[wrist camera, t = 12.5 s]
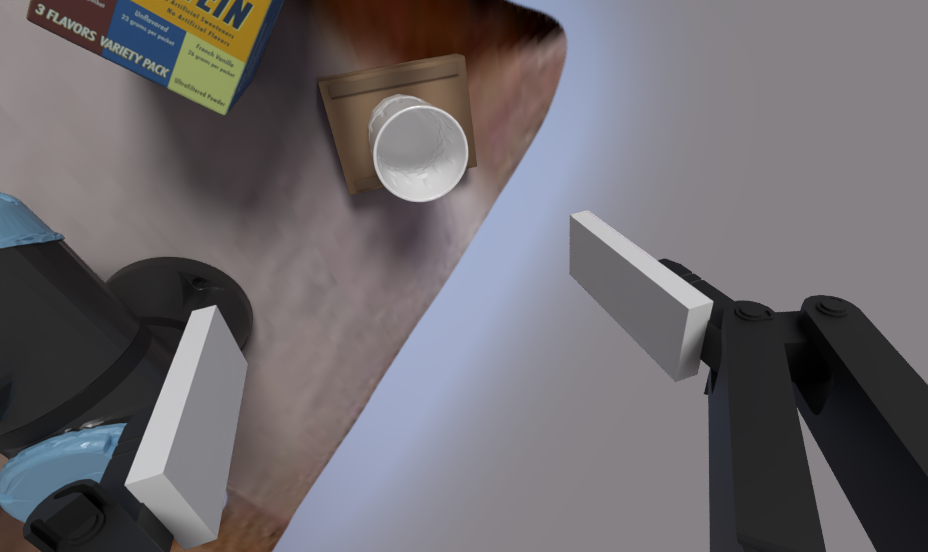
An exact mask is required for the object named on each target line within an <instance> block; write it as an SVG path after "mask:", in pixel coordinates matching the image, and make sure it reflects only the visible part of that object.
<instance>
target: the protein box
mask: <svg viewBox="0 0 928 552" xmlns="http://www.w3.org/2000/svg"><path fill="white" fill-rule="evenodd" d="M283 3H284V0H30V4H29V8H28V12H27V16H26V18H27V20H28V21H30V22H32V23H34V24H36V25H38V26H40V27H42V28H44V29H46V30H48V31H50V32H52V33H54V34H56V35H58V36H60V37H62V38H64V39H66V40H68V41H70V42H72V43H74V44H76V45H78V46H80V47H82V48H84V49H86V50H89V51H91V52H93V53H95V54H97V55H99V56H101V57H103V58H105V59H107V60H109V61H111V62H113V63H115V64H118V65H120V66H122V67H124V68H126V69H128V70H130V71H132V72H134V73H136V74H138V75H140V76H142V77H144V78H146V79H148V80H151V81H153V82H155V83H157V84H159V85H161V86H163V87H165V88H167V89H169V90H171V91H173V92H175V93H177V94H179V95H181V96H183V97H185V98H187V99H189V100H191V101H193V102H196V103H198V104H200V105H202V106H204V107H206V108H208V109H210V110H213V111H215V112H217V113H219V114H221V115H226V114H227V113H228V112H229V111H230V109H231V108H232V107H233V106H234V104H235V103H236V101H237V100H238V99H239V97H240V96H241V95H242V94H243V92H244V91H245V90H246V89H247V87H248V86H249V85H250V83H251V81H252V79H253V76H254V74H255V72H256V69H257V67H258V64H259V62H260V59H261V57H262V54H263V52H264V49H265V47H266V44H267V42H268V39H269V37H270V34H271V32H272V29H273V27H274V25H275V22H276V20H277V17H278V15H279V12H280V10H281V8H282V5H283Z"/></svg>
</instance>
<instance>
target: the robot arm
mask: <svg viewBox="0 0 928 552" xmlns="http://www.w3.org/2000/svg"><path fill="white" fill-rule="evenodd" d="M64 239H65V237H64V236H63V235H62V234H60V233H56V232H54V231H53V230H52V229H51V228H49V227H48V226H47V225H46V224H45V223H44V222H43V221H42V220H41V219H40V218H39V217H38V216H36V215H35V214H34V213H33V212H32V211H31V210H30V209H29V208H28V207H27V206H26V205H25V204H24V203H22V202H21V201H20V200H18V199H17V198H15V197H13V196H11V195H8V194H5V193H1V192H0V453H1V454H2V455H4V456H5V457H7V458H8V459H9V461H8V462H7V464H5V465H4V467H3V468H2V470H1V472H0V505H1V507H2V508H3V509H4V510H5V511H6V512H7V513H9V514H10V515H11V516H12V517H14V518H16V519H18V520H20V521H22V522H24V523H25V525H24V527H23V536H24V538H25V539H26V540H27V541H29V542H30V543H31V544H33V545H34V546H35V547H36V548H38V549H39V550H40V551H41V552H170V549H171V545H172V542H173V538H174V539H175V540H176V542H177V543H178V544H179V545H180V546H181V547H182V548H183V549H184V550H186V549H189V548H192V547H195V546H198V545H201V544H204V543H207V542H210V541H213V540H216V539H217V537H218V531H219V526H220V520H221V514H222V509H223V503H224V497H225V491H226V486H227V480H228V474H229V469H230V463H231V457H232V452H233V446H234V440H235V435H236V429H237V423H238V417H239V412H240V406H241V400H242V395H243V389H244V383H245V378H246V372H247V366H248V364H247V362H246V360H245V358H244V356H243V354H242V351H243V350H244V348H245V346H246V344H247V342H248V339H249V336H250V332H251V326H252V319H253V318H252V309H251V305H250V302H249V300H248V298H247V296H246V294H245V292H244V291H243V290H242V288H241V287H240V286H239V285H238V284H237V283H236V282H235V281H234V280H233V279H232V278H231V277H229V276H228V275H227V274H225V273H224V272H222V271H220V270H218V269H217V268H215V267H212V266H210V265H208V264H205V263H202V262H199V261H195V260H191V259H186V258H178V257H158V258H150V259H145V260H142V261H138V262H135V263H133V264H130V265H128V266H126V267H124V268H122V269H121V270H119V271H118V272H116V273H115V274H114V275H113V276H112V277H110V279H109V280H108V281H107V282H106V283H105V282H104V281H103V280H102V279H101V278H100V277H99V276H98V275H97V274H96V273H95V272H94V271H93V270H92V269H91V268H90V267H89V266H88V265H87V264H86V263H85V262H84V261H83V260H82V259H81V258H80V257H79V256H78V255H77V254H76V253H75V252H74V251H73V250H72V249H71V248H70V247H69V245H68V244H67V243H66V242H65V241H64ZM570 275H571V276H572V277H573V278H574V279H575V280H576V281H577V282H578V283H579V284H580V285H581V286H582V287H583V288H584V289H585V290H586V291H587V292H588V293H589V294H590V295H591V296H592V297H593V298H594V299H595V300H596V301H597V302H598V303H599V304H600V305H601V306H602V307H603V309H605V311H606V312H607V313H608V314H610V316H611V317H612V318H613V319H614V320H615V321H616V322H617V323H618V324H619V325H620V326H621V327H622V328H623V329H624V330H625V331H626V332H627V333H628V334H629V335H630V336H631V337H632V338H633V339H634V340H635V341H636V342H637V343H638V344H639V345H640V346H641V347H642V348H643V349H644V350H645V351H646V352H647V353H648V354H649V355H650V356H651V358H652V359H653V360H655V361H656V363H657V364H658V365H659V366H660V367H661V368H662V369H663V370H664V371H665V372H666V373H667V374H668V375H669V376H670V377H671V378H672V379H673V380H674V381H675V382H677V381H680V380H682V379H685V378H688V377H691V376H694V375H697V374H698V369H699V365H700V360H702V361H703V362H704V363H706V364H707V365H708V366H709V367H710V371H709V375H708V379H707V383H706V388H705V392H704V394H706V395H708V400H709V401H708V403H709V502H710V552H826V549H825V544H824V539H823V534H822V529H821V525H820V520H819V515H818V510H817V505H816V500H815V495H814V490H813V485H812V480H811V475H810V470H809V466H808V460H807V456H806V451H805V446H804V441H803V436H802V431H801V426H800V421H799V416H798V411H797V408H798V410H799V411H800V413H801V415H802V417H803V418H804V420H805V422H806V424H807V426H808V428H809V430H810V431H811V433H812V435H813V437H814V439H815V441H816V442H817V444H818V446H819V448H820V449H821V451H822V453H823V455H824V457H825V459H826V460H827V462H828V464H829V466H830V468H831V470H832V471H833V473H834V475H835V477H836V479H837V480H838V482H839V484H840V486H841V488H842V490H843V491H844V493H845V495H846V497H847V498H848V500H849V502H850V504H851V506H852V508H853V509H854V511H855V513H856V515H857V517H858V519H859V520H860V522H861V524H862V526H863V528H864V529H865V531H866V533H867V535H868V537H869V538H870V540H871V542H872V544H873V546H874V548H875V550H876V551H877V552H928V385H927V384H926V383H925V382H924V380H923V379H922V378H921V377H920V376H919V375H918V374H917V373H916V371H915V370H914V369H913V368H912V367H911V366H910V365H909V364H908V363H907V361H906V360H905V359H904V358H903V357H902V356H901V355H900V354H899V353H898V351H897V350H896V349H895V348H894V347H893V346H892V345H891V344H890V342H889V341H888V340H887V339H886V338H885V337H884V336H883V335H882V334H881V332H880V331H879V330H878V329H877V328H876V327H875V326H874V325H873V323H872V322H871V321H870V320H869V319H868V318H867V317H866V316H865V315H864V314H863V312H862V311H861V310H860V309H859V308H857V307H856V306H855V305H854V304H852V303H850V302H848V301H846V300H844V299H841V298H838V297H833V296H825V295H817V296H811V297H809V298H806V299H805V300H804V302H803V304H802V307H801V310H800V311H793V312H774V311H773V310H772V309H770V308H769V307H767V306H765V305H762V304H760V303H756V302H752V301H733V300H732V299H730V298H729V297H728V296H726V295H725V294H723V293H722V292H720V291H719V290H717V289H716V288H714V287H713V286H711V285H710V284H708V283H707V282H706V281H704V280H701V278H700V277H699V276H697V275H696V274H692V272H691V271H690V270H688V269H687V268H685V267H684V266H682V265H681V264H679V263H676V262H673V261H670V260H668V259H662V260H658V261H657V260H655V259H654V258H653V257H651V256H650V255H649V254H647V253H646V252H644V251H643V250H642V249H640V248H639V247H638V246H636V245H635V244H633V243H632V242H631V241H629V240H628V239H627V238H625V237H623V236H622V235H621V234H619V233H618V232H617V231H615V230H614V229H613V228H611V227H610V226H609V225H607V224H606V223H604V222H603V221H602V220H600V219H599V218H598V217H596V216H595V215H593V214H592V213H591V212H589V211H588V210H587V211H583V212H579V213H575V214H571V215H570Z"/></svg>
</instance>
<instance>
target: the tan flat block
mask: <svg viewBox="0 0 928 552" xmlns="http://www.w3.org/2000/svg"><path fill="white" fill-rule="evenodd" d="M318 84H319V88H320V91H321V95H322V98H323V102H324V105H325V109H326V113H327V116H328V120H329V123H330V127H331V130H332V134H333V137H334V141H335V144H336V148H337V151H338V155H339V159H340V162H341V166H342V169H343V173H344V176H345V180H346V183H347V187H348V190H349V194H350V195H352V194H357V193H361V192H366V191H370V190H374V189H379V188H383V187H385V186H384V185H383V184H382V182H381V181H380V179H379V177H378V175H377V173H376V170H375V166H374V162H373V158H372V155H371V150H370V145H369V132H368V123H369V120H370V116H371V113H372V110H373V109H374V108H375V107H376V106H377V105H378V104H379V103H380V102H381V101H382V100H383V99H384V98H387V97H390V96H393V95H396V94H403V95H410V96H414V97H416V98H419V99H422V100H424V101H426V102H428V103H430V104H432V105H434V106H436V107H437V108H439V109H441V110H443V111H445V112H446V113H448V114H449V115H451V116H452V117H453V118H454V119H455V120H456V121H457V122H458V123H459V125H460V126H461V128H462V130H463V132H464V134H465V136H466V139H467V144H468V161H467V166H466V169H468V168H472V167H476V166H477V161H476V152H475V144H474V135H473V126H472V117H471V108H470V99H469V91H468V82H467V73H466V64H465V56H463V55H460V54H451V55H445V56H439V57H434V58H428V59H422V60H417V61H411V62H405V63H400V64H394V65H388V66H383V67H377V68H372V69H366V70H360V71H355V72H349V73H343V74H338V75H332V76H326V77H321V78H318Z"/></svg>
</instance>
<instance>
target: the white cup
mask: <svg viewBox="0 0 928 552" xmlns="http://www.w3.org/2000/svg"><path fill="white" fill-rule="evenodd" d="M368 132H369V145H370V150H371V155H372V158H373V162H374V166H375V170H376V173H377V175H378V177H379V179H380V181H381V182H382V184H383V185H384V186H385V187H386V188H387V189H388V190H389V191H390V192H391V193H392V194H394V195H395V196H397V197H399V198H401V199H404V200H407V201H411V202H428V201H432V200H435V199H438V198H440V197H442V196H444V195H445V194H447V193H448V192H450V191H451V190H452V189H453V188H454V187H455V186H456V185H457V183H458V182H459V181H460V179H461V178H462V176H463V174H464V171H465V169H466V166H467V161H468V144H467V139H466V136H465V134H464V132H463V130H462V128H461V126H460V125H459V123H458V122H457V121H456V120H455V119H454V118H453V117H452V116H451V115H449V114H448V113H446V112H445V111H443V110H441V109H439V108H437V107H436V106H434V105H432V104H430V103H428V102H426V101H424V100H422V99H419V98H416V97H414V96H410V95H403V94H396V95H393V96H390V97H387V98H384V99H383V100H382V101H381V102H380V103H379V104H378V105H377V106H376V107H375V108H374V109H373V110H372V113H371V116H370V120H369V123H368Z"/></svg>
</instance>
